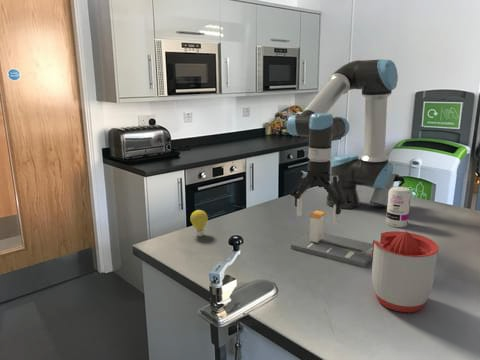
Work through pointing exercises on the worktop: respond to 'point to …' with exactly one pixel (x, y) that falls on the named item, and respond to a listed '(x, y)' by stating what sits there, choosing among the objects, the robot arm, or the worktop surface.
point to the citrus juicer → (403, 270)
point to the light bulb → (199, 221)
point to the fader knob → (316, 226)
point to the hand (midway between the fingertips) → (316, 219)
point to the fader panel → (336, 248)
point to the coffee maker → (385, 191)
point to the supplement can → (398, 206)
